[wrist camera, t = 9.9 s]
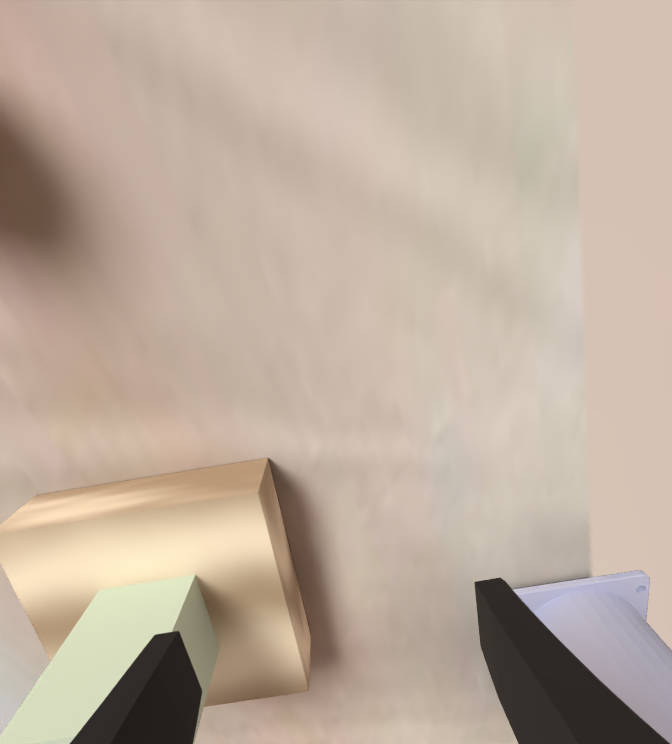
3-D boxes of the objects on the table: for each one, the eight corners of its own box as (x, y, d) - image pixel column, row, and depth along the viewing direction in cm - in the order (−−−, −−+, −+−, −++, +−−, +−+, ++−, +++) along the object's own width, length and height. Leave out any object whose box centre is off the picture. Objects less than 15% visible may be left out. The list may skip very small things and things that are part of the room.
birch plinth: (310, 636, 23) (308, 691, 20) (113, 666, 23) (83, 724, 20) (267, 457, 19) (258, 492, 17) (36, 495, 20) (-14, 535, 17)
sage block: (219, 647, 19) (174, 817, 13) (130, 661, 19) (45, 836, 13) (195, 574, 18) (132, 727, 12) (99, 589, 18) (-9, 749, 12)
